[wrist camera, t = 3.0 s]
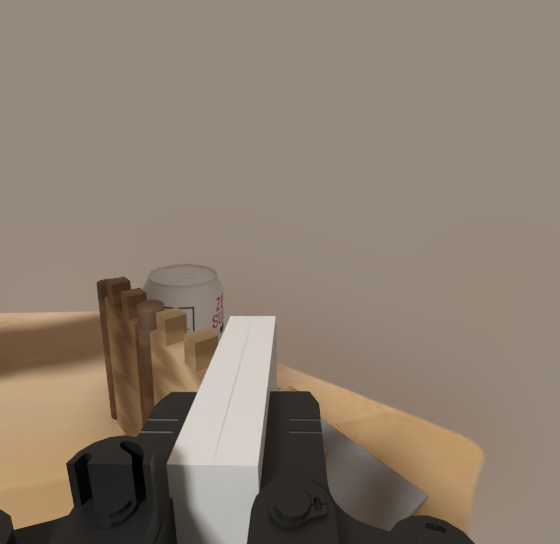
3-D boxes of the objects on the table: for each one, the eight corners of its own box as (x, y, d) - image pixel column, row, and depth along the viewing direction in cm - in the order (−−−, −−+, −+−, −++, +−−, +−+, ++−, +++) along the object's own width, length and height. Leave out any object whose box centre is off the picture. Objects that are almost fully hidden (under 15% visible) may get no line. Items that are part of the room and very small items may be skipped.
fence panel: (159, 479, 32) (147, 306, 27) (177, 470, 33) (168, 301, 28) (287, 666, 21) (306, 429, 16) (307, 642, 22) (331, 413, 17)
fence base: (56, 433, 37) (30, 281, 33) (237, 361, 52) (239, 247, 47) (199, 755, 18) (190, 501, 13) (426, 498, 32) (463, 329, 27)
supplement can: (142, 387, 45) (133, 267, 40) (207, 369, 49) (206, 259, 45) (161, 429, 39) (153, 292, 34) (234, 404, 43) (236, 280, 38)
